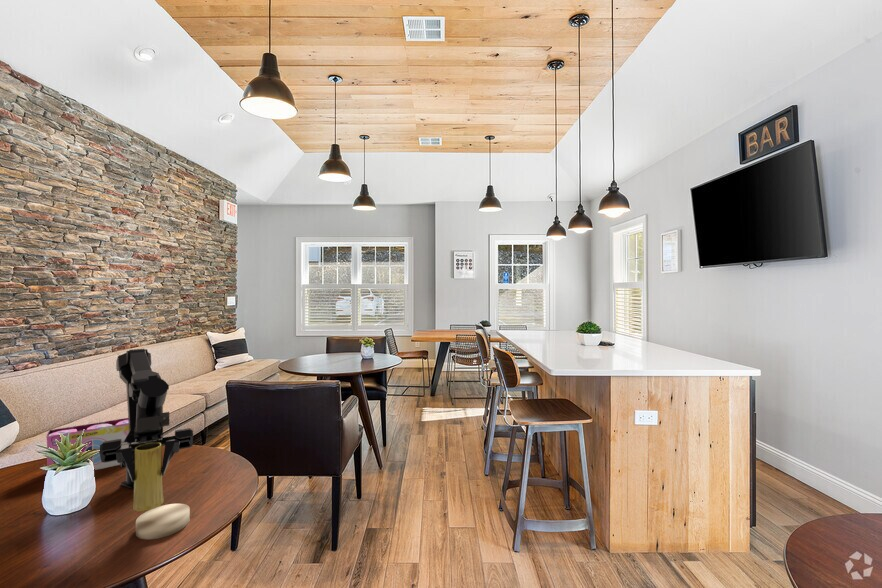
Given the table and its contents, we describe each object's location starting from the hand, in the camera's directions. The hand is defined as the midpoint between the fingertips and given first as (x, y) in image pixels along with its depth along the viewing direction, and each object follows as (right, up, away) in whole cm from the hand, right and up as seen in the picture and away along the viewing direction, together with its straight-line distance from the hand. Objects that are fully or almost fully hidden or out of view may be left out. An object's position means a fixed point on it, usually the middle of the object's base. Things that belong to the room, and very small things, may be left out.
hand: (148, 477), depth 99 cm
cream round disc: (+2, -13, +3) cm, 14 cm away
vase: (-1, -7, +1) cm, 7 cm away
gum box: (-44, -13, +38) cm, 60 cm away
